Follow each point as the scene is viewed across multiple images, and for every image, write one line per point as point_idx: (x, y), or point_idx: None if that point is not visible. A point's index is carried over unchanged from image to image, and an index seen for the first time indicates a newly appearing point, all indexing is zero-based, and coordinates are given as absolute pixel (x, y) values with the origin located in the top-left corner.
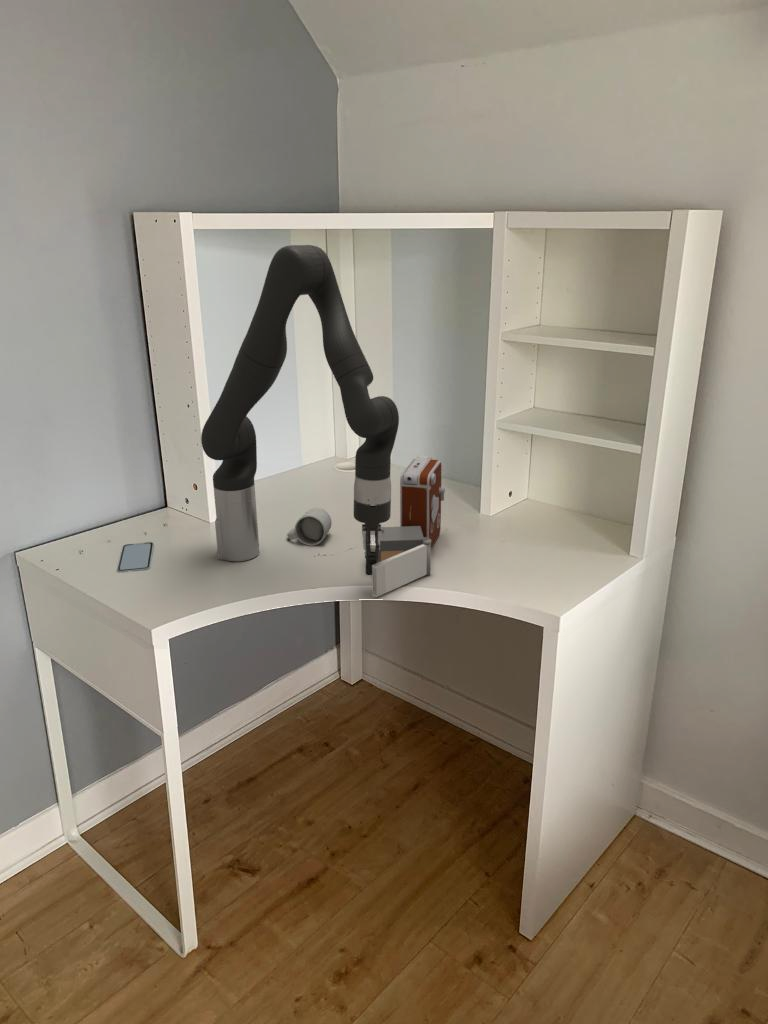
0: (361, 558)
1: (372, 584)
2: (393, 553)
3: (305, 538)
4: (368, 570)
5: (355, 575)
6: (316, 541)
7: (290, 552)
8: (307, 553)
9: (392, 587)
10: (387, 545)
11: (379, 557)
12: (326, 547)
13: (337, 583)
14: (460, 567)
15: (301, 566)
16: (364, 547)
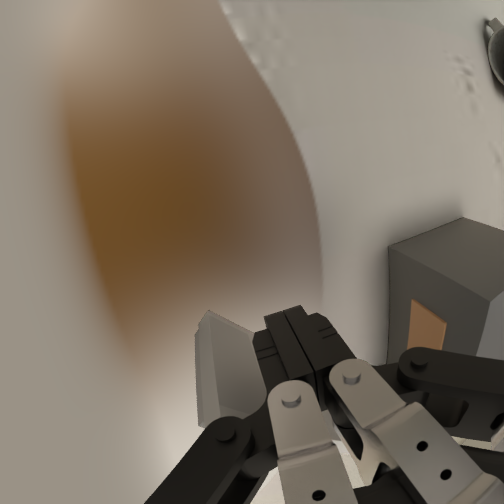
0: (469, 195)
1: (210, 339)
2: None
3: (501, 53)
4: (255, 349)
5: (383, 194)
6: (502, 75)
7: (452, 9)
8: (463, 45)
9: None
10: None
11: (431, 305)
12: (493, 96)
13: (312, 133)
14: None
15: (402, 15)
16: (281, 482)
